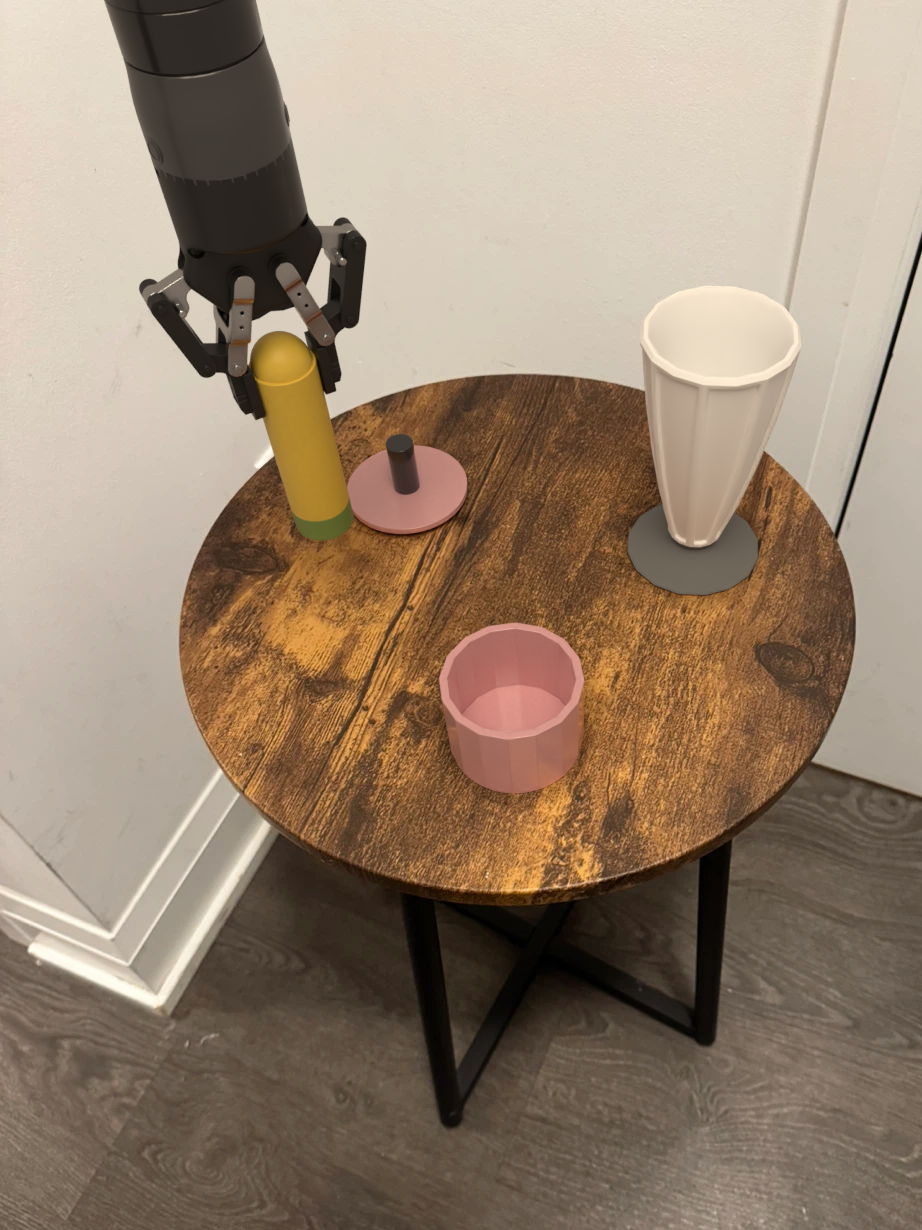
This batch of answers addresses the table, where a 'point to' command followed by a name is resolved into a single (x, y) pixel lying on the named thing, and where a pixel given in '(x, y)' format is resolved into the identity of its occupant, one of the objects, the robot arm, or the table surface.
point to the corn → (301, 435)
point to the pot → (513, 707)
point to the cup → (708, 430)
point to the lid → (407, 487)
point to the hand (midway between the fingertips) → (291, 398)
